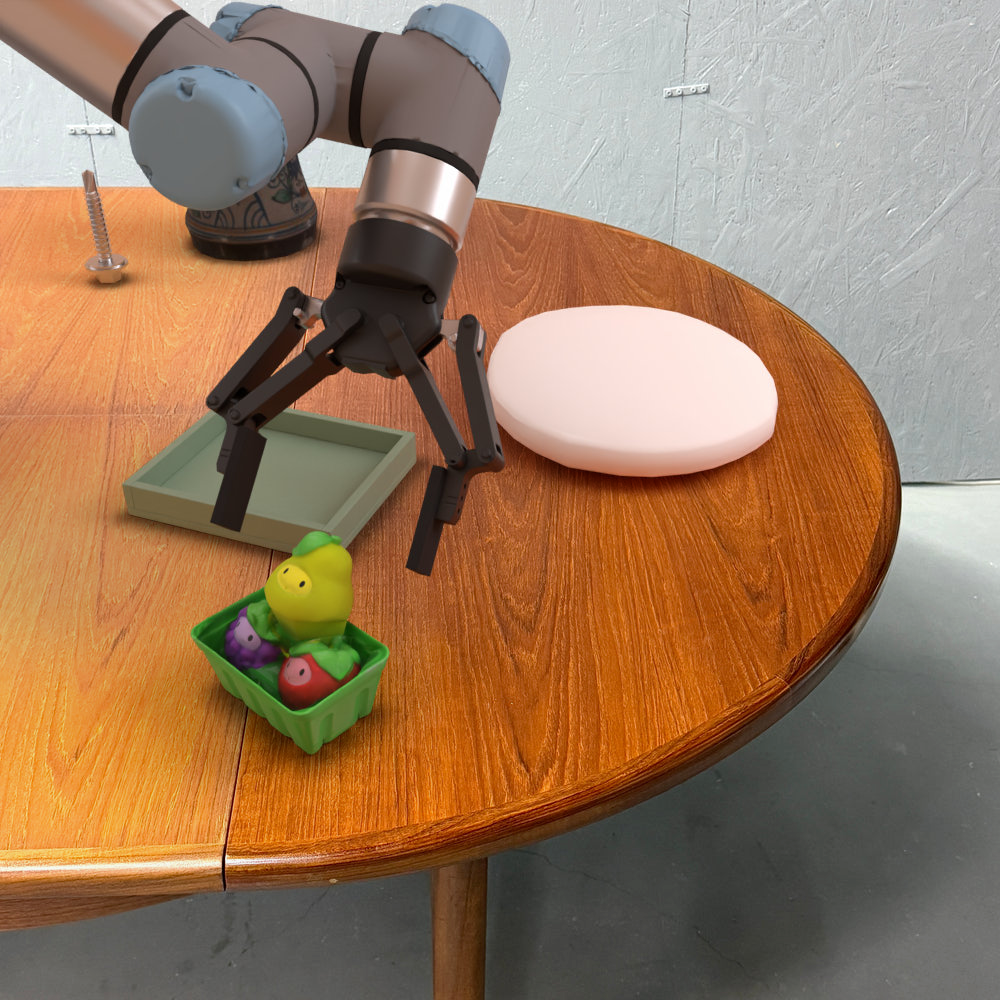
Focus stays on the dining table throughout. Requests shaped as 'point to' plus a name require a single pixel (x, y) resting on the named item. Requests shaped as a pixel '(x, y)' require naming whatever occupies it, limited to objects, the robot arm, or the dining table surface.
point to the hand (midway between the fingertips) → (318, 550)
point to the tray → (278, 478)
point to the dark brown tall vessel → (259, 221)
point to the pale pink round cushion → (630, 391)
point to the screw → (101, 236)
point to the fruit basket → (298, 646)
